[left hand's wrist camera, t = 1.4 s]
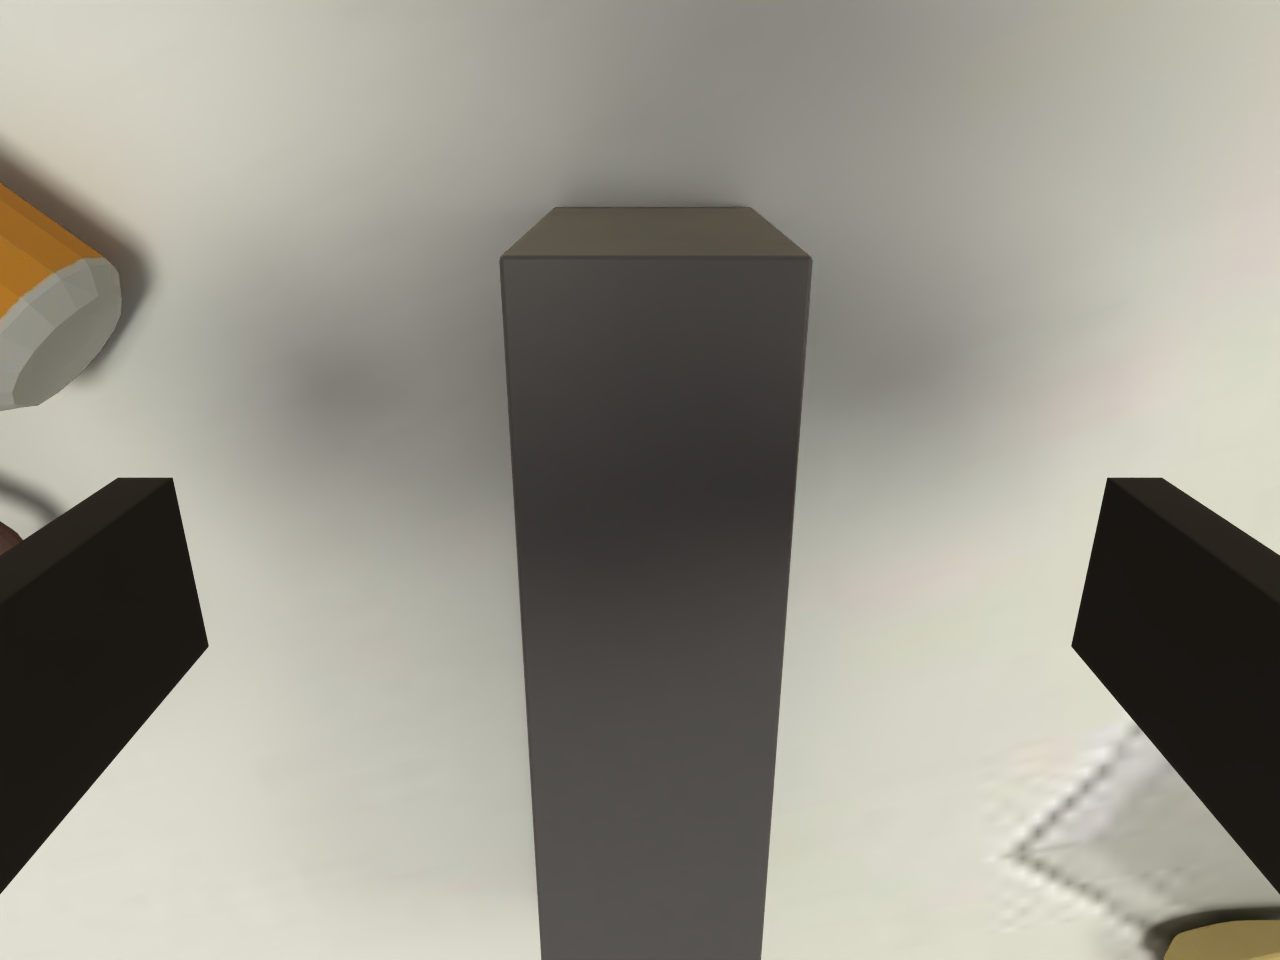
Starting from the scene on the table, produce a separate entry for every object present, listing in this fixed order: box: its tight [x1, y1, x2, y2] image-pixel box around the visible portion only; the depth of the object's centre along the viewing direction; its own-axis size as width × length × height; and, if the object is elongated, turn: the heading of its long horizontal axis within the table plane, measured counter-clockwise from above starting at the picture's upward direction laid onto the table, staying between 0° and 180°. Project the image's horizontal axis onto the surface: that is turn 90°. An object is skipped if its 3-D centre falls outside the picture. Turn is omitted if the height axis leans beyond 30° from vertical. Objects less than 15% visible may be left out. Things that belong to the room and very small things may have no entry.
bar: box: [499, 207, 812, 960], centre depth 20 cm, size 22×5×8 cm, turn 0°
